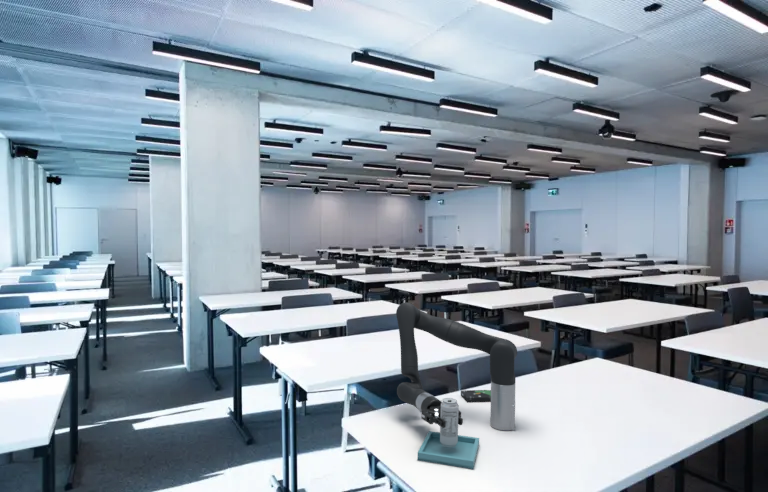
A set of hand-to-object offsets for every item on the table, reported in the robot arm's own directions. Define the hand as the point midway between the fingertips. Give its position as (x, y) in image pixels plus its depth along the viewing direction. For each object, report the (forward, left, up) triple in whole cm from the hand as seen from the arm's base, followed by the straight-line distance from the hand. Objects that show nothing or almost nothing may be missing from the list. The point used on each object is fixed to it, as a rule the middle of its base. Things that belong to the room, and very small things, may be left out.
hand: (453, 423), depth 150 cm
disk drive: (-3, -60, -11) cm, 61 cm away
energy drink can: (+2, -2, -8) cm, 9 cm away
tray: (+1, -2, -11) cm, 11 cm away
